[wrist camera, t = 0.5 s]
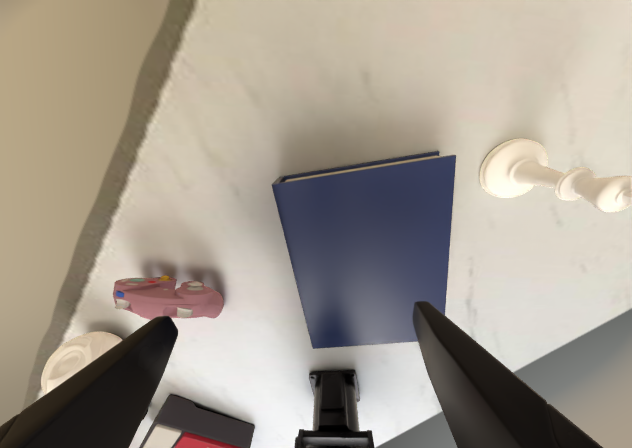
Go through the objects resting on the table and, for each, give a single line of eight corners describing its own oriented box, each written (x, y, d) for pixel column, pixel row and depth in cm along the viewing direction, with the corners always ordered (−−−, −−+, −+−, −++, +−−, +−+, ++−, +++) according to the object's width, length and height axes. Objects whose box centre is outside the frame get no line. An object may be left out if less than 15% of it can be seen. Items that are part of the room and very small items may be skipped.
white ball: (131, 319, 29) (68, 381, 22) (152, 359, 32) (102, 424, 25) (75, 320, 30) (-4, 380, 23) (101, 358, 33) (38, 422, 26)
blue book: (431, 317, 26) (443, 339, 24) (314, 327, 28) (312, 348, 25) (438, 150, 19) (456, 155, 16) (279, 177, 21) (271, 184, 18)
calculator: (223, 480, 38) (133, 458, 35) (231, 447, 42) (151, 424, 39) (249, 455, 34) (151, 427, 31) (256, 421, 38) (169, 393, 35)
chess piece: (485, 205, 21) (609, 268, 12) (473, 156, 19) (606, 183, 10) (545, 181, 20) (735, 230, 10) (537, 126, 18) (754, 127, 9)
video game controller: (231, 276, 27) (203, 290, 20) (225, 314, 27) (195, 341, 20) (151, 265, 27) (96, 275, 20) (145, 303, 27) (86, 326, 20)
